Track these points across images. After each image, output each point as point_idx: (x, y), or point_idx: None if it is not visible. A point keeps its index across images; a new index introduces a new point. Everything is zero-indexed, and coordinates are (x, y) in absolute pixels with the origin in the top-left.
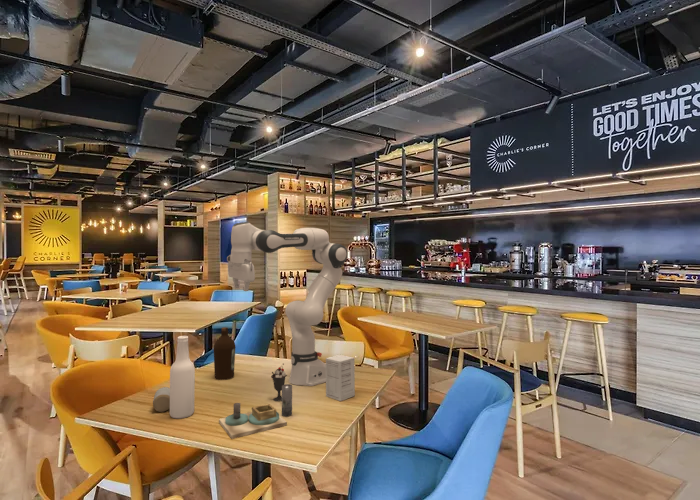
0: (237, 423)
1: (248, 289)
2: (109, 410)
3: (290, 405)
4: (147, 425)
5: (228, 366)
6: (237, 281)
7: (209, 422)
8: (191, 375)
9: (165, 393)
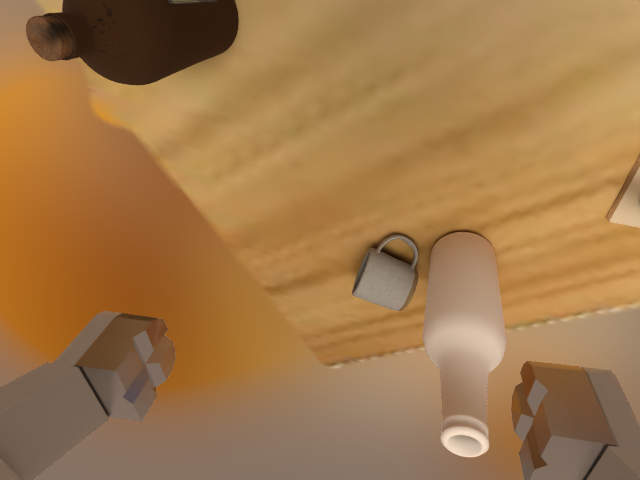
0: None
1: (621, 389)
2: (318, 331)
3: None
4: None
5: (214, 18)
6: (21, 417)
7: (580, 233)
8: (502, 319)
9: (401, 298)
